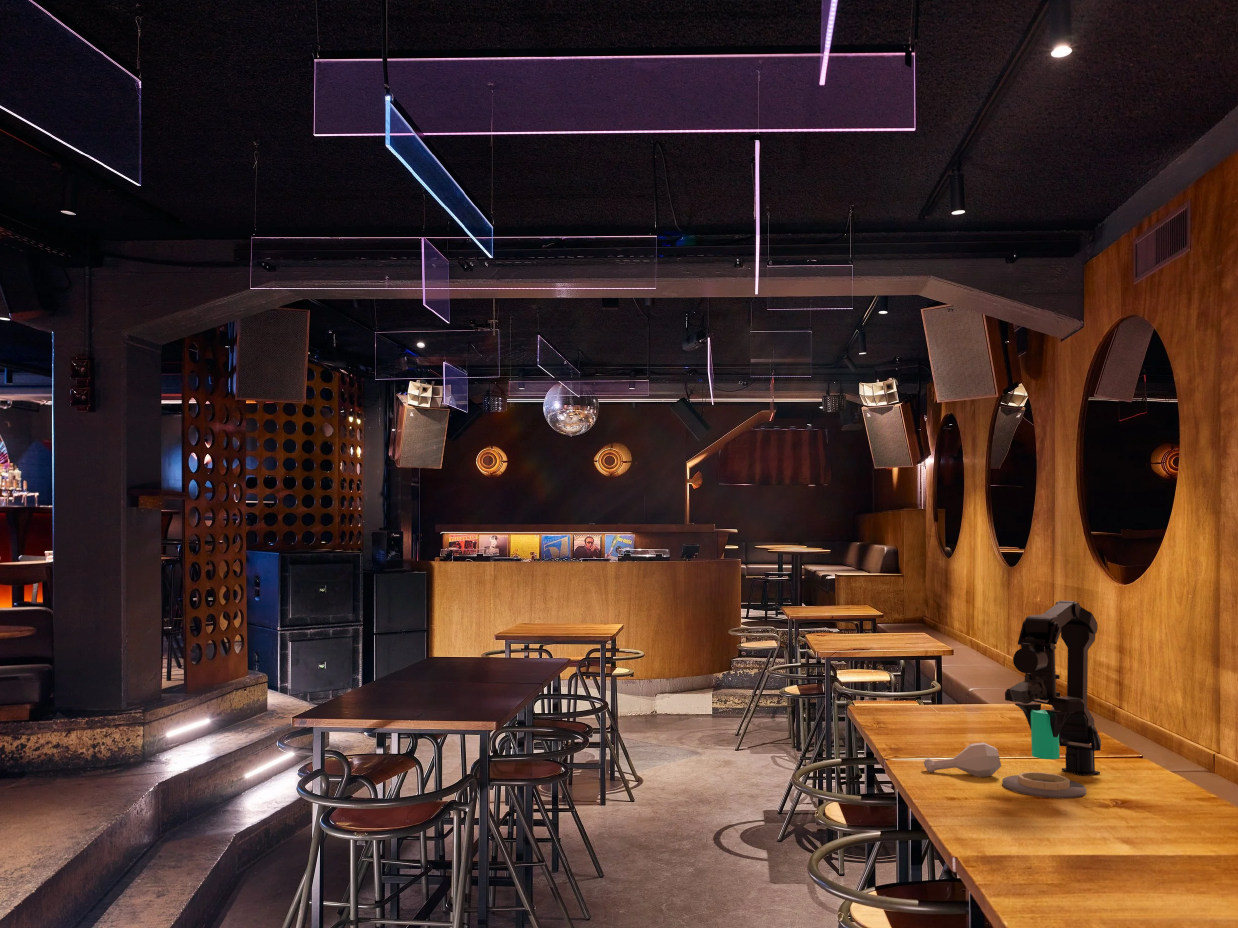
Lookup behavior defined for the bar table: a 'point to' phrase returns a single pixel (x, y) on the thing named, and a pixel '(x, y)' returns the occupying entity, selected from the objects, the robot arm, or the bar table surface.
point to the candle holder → (1044, 785)
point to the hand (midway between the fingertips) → (1044, 736)
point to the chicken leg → (970, 761)
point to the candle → (1043, 736)
